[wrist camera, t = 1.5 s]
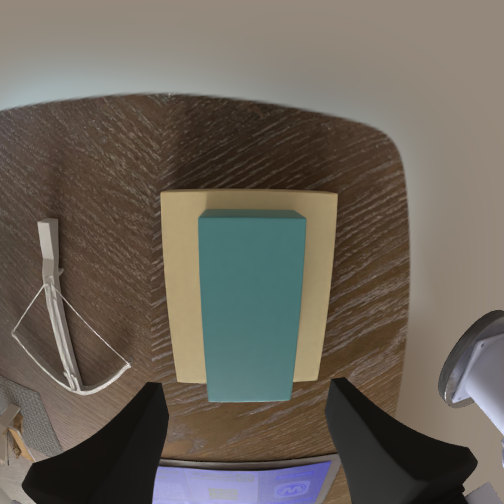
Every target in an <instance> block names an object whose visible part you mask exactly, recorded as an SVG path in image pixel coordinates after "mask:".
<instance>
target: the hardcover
mask: <svg viewBox="0 0 504 504" xmlns="http://www.w3.org/2000/svg"><path fill="white" fill-rule="evenodd" d="M337 198H338V194H336V193H331V192H327V191H312V190H286V189H172V190H167V191H163V192H161V220H162V241H163V258H164V272H165V284H166V295H167V305H168V314H169V323H170V332H171V340H172V347H173V354H174V361H175V368H176V375H177V381H178V382H188V383H207V382H206V371H205V360H204V347H203V333H202V318H201V301H200V281H199V256H198V217H199V216H200V215H201V214H202V212H203V211H204V210H206V209H271V210H295V211H296V212H298V213H299V214H301V215H302V216H304V217H305V218H306V219H307V221H306V240H305V257H304V272H303V285H302V298H301V310H300V321H299V331H298V341H297V351H296V360H295V369H294V377H293V382H298V381H311V380H317V378H318V372H319V366H320V360H321V354H322V348H323V341H324V334H325V327H326V320H327V312H328V304H329V296H330V287H331V277H332V267H333V256H334V245H335V232H336V217H337Z"/></svg>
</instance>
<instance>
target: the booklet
mask: <svg viewBox="0 0 504 504" xmlns="http://www.w3.org/2000/svg"><path fill="white" fill-rule="evenodd" d="M325 466H326V465H325V464H324V463H323V462H320V463H319V462H317V463H312V464H306V465H300V466H293V467H285V468H277V469H267V470H217V469H201V468H190V467H177V466H158V469H157V473H156V478H155V483H154V492H153V502H152V504H308V501H309V502H310V501H311V497H312V495H313V496H314V495H315V491H314V488H315V489H316V488H317V486H316V484H317V485H318V484H319V483H318V481H319V480H320V478H321V479H322V478H323V477H322V476H321V475H322V474H323V473H322V472H323V471H324V470H325V469H326V468H325Z"/></svg>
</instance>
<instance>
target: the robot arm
mask: <svg viewBox="0 0 504 504" xmlns="http://www.w3.org/2000/svg"><path fill="white" fill-rule="evenodd" d="M469 397H471V398H472V399H473V400H474V401H475V402H476V403H477V404H478V406H479V407H480V408H481V409H482V410H483V411H484V412H485V414H486V415H487V416H488V417H489V418H490V420H491V421H492V422H493V423H494V424H495V426H496V427H497V428H498V429H499V430H500V432H501V433H502V434H503V435H504V333H502V334H499V335H495V336H492V337H489V338H485V339H482V340H479V341H477V342H476V344H475V346H474V349H473V352H472V354H471V357H470V359H469V362H468V364H467V367H466V369H465V372H464V374H463V376H462V379H461V381H460V383H459V385H458V387H457V390H456V392H455V394H454V396H453V398H452V402H453V403H455V402H458V401H461V400H463V399H466V398H469ZM325 415H326V420H327V424H328V428H329V431H330V434H331V437H332V439H333V442H334V445H335V447H336V450H337V452H338V455H339V458H340V460H341V463H342V465H343V468H344V471H345V474H346V478H347V483H348V487H349V491H350V496H351V501H352V504H503V503H502V501H501V500H500V498H499V497H498V495H497V493H496V492H495V490H494V489H493V487H492V486H491V484H490V483H489V482H487V483H485V484H484V485H482V486H481V487H479V488H477V489H476V490H474V491H472V492H471V493H469V494H468V495H467V496H465V497H464V495H463V494H462V492H464V491H465V488H464V487H463V485H462V484H463V483H464V482H465V481H466V479H467V478H468V477H469V476H470V475H471V474H472V472H473V471H474V470H475V468H476V466H477V463H478V461H477V459H476V458H475V457H474V455H473V454H472V452H471V451H470V449H469V448H468V447H463V446H458V445H454V444H449V443H445V442H443V441H439V440H436V439H434V438H431V437H428V436H426V435H424V434H421V433H419V432H417V431H415V430H413V429H411V428H409V427H407V426H406V425H404V424H402V423H400V422H399V421H397V420H396V419H394V418H393V417H391V416H390V415H388V414H387V413H386V412H384V411H383V410H381V409H380V408H379V407H378V406H376V405H375V404H374V403H373V402H371V401H370V400H369V399H368V398H367V397H366V396H365V395H363V394H362V393H361V392H360V391H359V390H358V389H357V388H356V387H355V386H354V385H352V384H351V383H350V382H349V381H348V380H347V379H346V378H345V377H343V378H335V379H331V383H330V388H329V393H328V398H327V403H326V407H325ZM168 420H169V413H168V409H167V405H166V401H165V396H164V392H163V388H162V383H155V382H147V383H146V384H145V385H144V387H143V388H142V389H141V390H140V391H139V392H138V393H137V394H136V396H135V397H134V398H133V399H132V400H131V401H130V402H129V403H128V404H127V405H126V406H125V407H124V408H123V410H122V411H121V412H120V413H119V414H118V415H116V416H115V417H114V418H113V419H112V420H111V421H110V422H109V423H108V424H107V425H105V426H104V427H103V428H102V429H101V430H99V431H98V432H97V433H95V434H94V435H93V436H91V437H90V438H88V439H87V440H85V441H83V442H82V443H80V444H78V445H77V446H75V447H73V448H71V449H69V450H67V451H65V452H63V453H61V454H59V455H56V456H54V457H51V458H48V459H45V460H42V461H39V462H36V463H33V464H32V466H31V467H30V469H29V471H28V473H27V475H26V477H25V479H24V481H23V483H22V488H23V490H24V492H25V493H26V494H27V495H28V496H29V497H30V498H31V499H32V500H33V501H34V502H35V503H36V504H152V502H153V492H154V483H155V478H156V473H157V469H158V465H159V461H160V458H161V454H162V450H163V446H164V443H165V439H166V435H167V428H168ZM501 443H502V444H503V446H504V438H503V439H502V440H501ZM502 464H503V467H504V448H503V450H502ZM12 504H21V503H20V502H18V501H16V500H13V501H12Z"/></svg>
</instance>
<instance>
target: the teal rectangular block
mask: <svg viewBox="0 0 504 504" xmlns="http://www.w3.org/2000/svg"><path fill="white" fill-rule="evenodd" d="M306 221H307V219H306V218H305V217H304V216H302V215H301V214H299V213H298V212H296V211H295V210H271V209H206V210H204V211H203V212H202V214H201V215H200V216H199V217H198V256H199V281H200V301H201V318H202V333H203V347H204V360H205V371H206V382H207V393H208V400H209V401H210V402H263V401H284V400H290V399H291V394H292V386H293V377H294V369H295V360H296V351H297V341H298V331H299V321H300V310H301V298H302V285H303V272H304V257H305V240H306Z"/></svg>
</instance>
